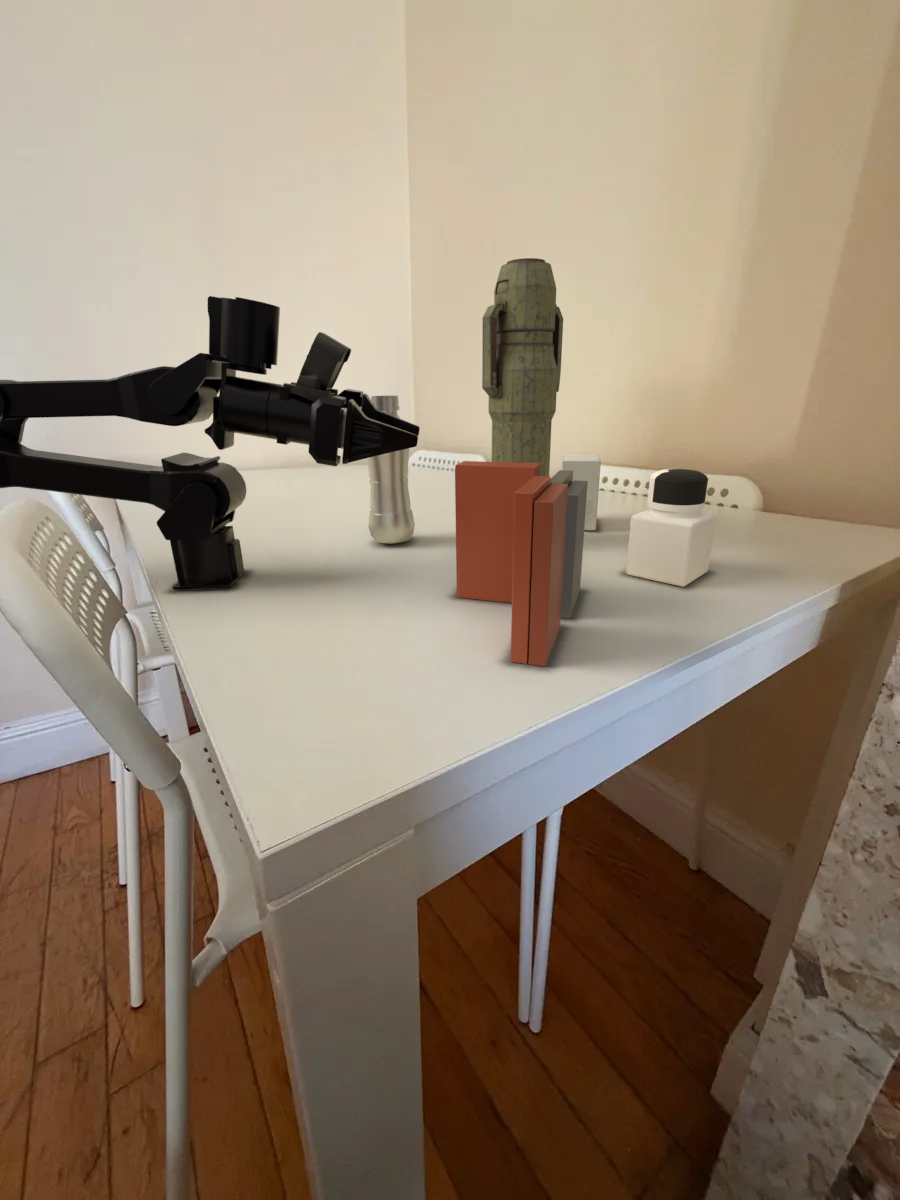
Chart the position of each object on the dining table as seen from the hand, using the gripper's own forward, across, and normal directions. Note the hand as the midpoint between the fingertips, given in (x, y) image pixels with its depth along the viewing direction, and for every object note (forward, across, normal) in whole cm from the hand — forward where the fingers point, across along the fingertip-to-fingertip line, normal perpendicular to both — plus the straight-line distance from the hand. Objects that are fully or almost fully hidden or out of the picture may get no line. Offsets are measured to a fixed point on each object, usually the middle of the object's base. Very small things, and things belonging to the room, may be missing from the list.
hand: (418, 435), depth 62 cm
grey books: (+17, -10, +13) cm, 24 cm away
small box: (+27, +23, +12) cm, 37 cm away
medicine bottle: (+31, -2, +11) cm, 33 cm away
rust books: (+13, -20, +14) cm, 27 cm away
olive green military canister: (+16, +14, +14) cm, 25 cm away
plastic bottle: (-2, +15, +17) cm, 23 cm away
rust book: (+11, -8, +14) cm, 20 cm away
